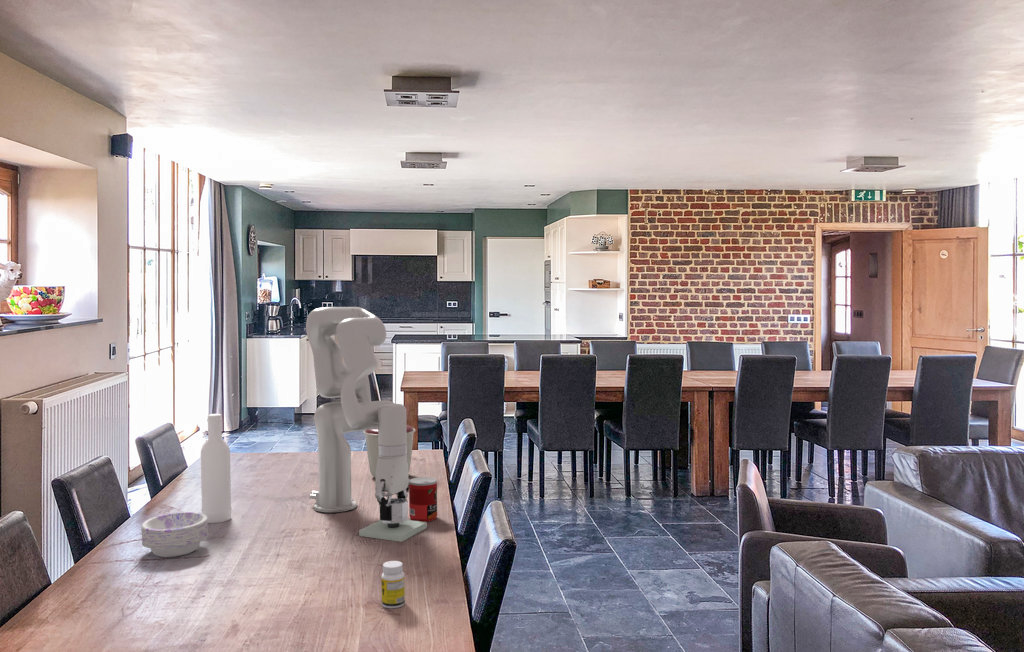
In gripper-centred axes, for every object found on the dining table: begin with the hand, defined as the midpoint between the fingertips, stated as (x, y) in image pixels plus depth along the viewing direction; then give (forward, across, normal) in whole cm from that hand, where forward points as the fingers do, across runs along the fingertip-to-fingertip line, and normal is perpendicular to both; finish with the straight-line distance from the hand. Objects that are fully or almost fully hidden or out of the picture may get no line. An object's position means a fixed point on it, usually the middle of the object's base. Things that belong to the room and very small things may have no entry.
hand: (393, 515), depth 206 cm
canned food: (+5, -14, +1) cm, 15 cm away
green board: (+4, 0, 0) cm, 4 cm away
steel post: (+3, 0, 0) cm, 3 cm away
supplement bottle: (+5, +42, +26) cm, 49 cm away
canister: (+4, -54, -35) cm, 65 cm away
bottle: (+4, +9, -53) cm, 54 cm away
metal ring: (+1, 0, 0) cm, 1 cm away
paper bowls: (+4, +34, -42) cm, 54 cm away
